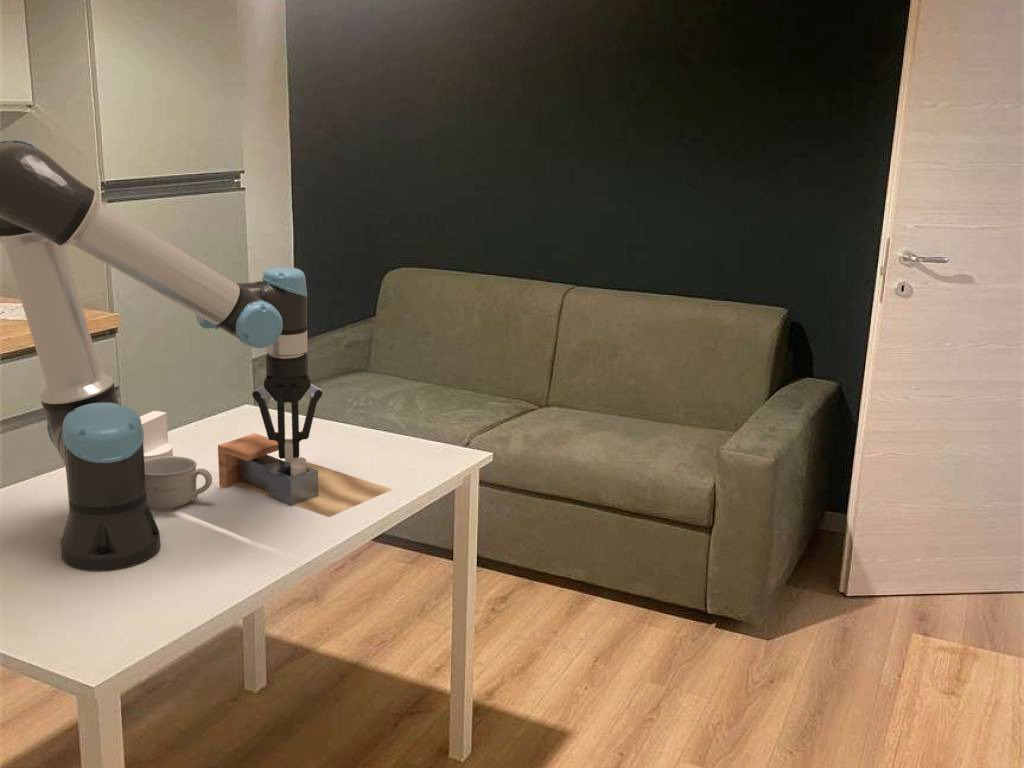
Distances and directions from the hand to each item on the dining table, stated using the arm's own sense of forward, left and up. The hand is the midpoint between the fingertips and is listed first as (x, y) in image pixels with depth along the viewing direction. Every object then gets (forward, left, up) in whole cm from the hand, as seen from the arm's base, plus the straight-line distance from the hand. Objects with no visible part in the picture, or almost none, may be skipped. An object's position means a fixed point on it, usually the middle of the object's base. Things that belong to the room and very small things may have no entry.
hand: (289, 473), depth 199 cm
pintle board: (+1, -3, -3) cm, 4 cm away
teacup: (-19, +9, -3) cm, 22 cm away
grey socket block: (-4, 0, -2) cm, 4 cm away
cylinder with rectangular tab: (-13, +24, -3) cm, 28 cm away
